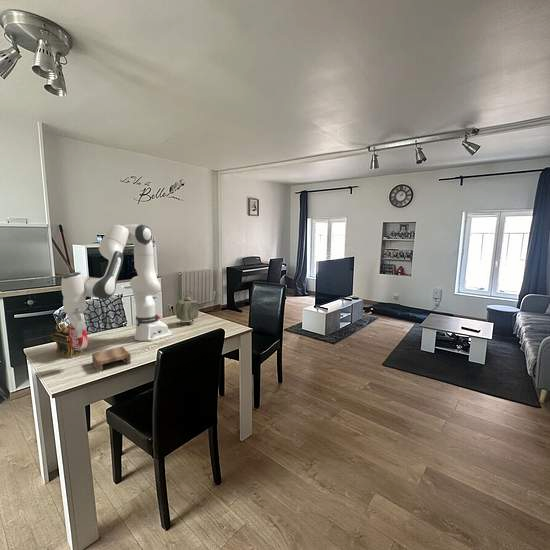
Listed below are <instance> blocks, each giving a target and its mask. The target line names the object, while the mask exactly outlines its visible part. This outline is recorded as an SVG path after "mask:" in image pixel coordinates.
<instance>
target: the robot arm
mask: <svg viewBox="0 0 550 550" xmlns="http://www.w3.org/2000/svg"><path fill="white" fill-rule="evenodd" d="M152 237H153V233H152V230H151V228H150V227H149V226H148V225H145V224H137V223H136V224H135V223H131V224H113V225H112V226H111V227H110V228H109V229H108V230H107V231H106V232H105V234H104V235H103V238H102V239H101V241H100V243H99V246H98V251H99V253H100V255H101V256H103V258H104V259H106V260H108V264H107V267H106V269H105V273H104V275H103V276H102V277H92V276H88V275H85V274H82V273H81V272H69V273H65V274H64V275H63V276H62V278H61V282H60V283H61V294H62V296H63V298H62V299H63V300H62V305H63V313H65V314H66V316H67V319H68V322H69V324H70V323H71V324H72V326H73V327H74V328H75V330H76V331H77V337H78V338H81V337H82V330H85V328H86V329H87V327H86V319H85V316H84V314H85V312H84V311H86V310H87V300H86V298H87V297H90V298H98V299H101V300H108V299H110V298H111V297H112V296H113V295H115V292H116V288H117V283H118V278H119V275H120V272H121V269H122V265H123V262H124V254H123V253H124V250H125V247H126V245H127V244H133V246H134V247H133V261H134V264H133V265H134V269H135V271H136V274H137V275H136V276H133V277H132V278H131V280H130V282H129V286H130V288H131V290H132V294H133V297H134V302H135V325H136V326H135V333H134V340H135V341H142V342H144V341H146V342H154V341H157V340H160V338H161V339H164V338H166V337H170V336H172V335H173V332H172V330H170V329H169V326H168V325H167V324H166V323H165V322H164V321H162V320H161V319H162V316H161V315H159V314H157V313H156V303H155V301H154V298H153V296H156V295H158V294H159V292H160V291H161V283H160V282H159V280H158V277H157V273H156V270H155V269H156V268H155V258H154V257H155V255H154V254H155V253H154V245H153V240H152Z"/></svg>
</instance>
